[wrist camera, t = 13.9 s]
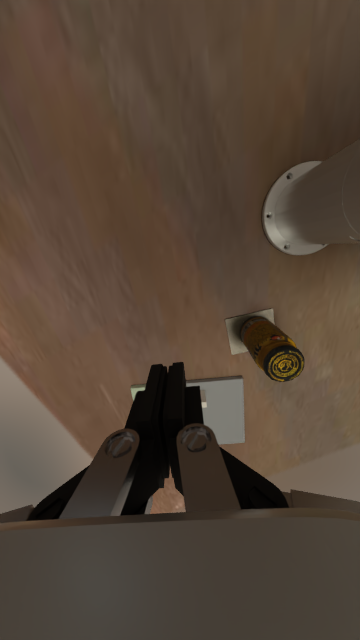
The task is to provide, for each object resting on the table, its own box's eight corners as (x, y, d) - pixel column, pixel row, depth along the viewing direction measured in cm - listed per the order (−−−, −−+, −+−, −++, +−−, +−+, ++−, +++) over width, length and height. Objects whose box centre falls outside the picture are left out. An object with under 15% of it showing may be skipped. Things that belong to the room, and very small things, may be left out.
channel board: (241, 375, 42) (248, 390, 38) (243, 438, 47) (249, 457, 43) (131, 385, 43) (126, 400, 39) (144, 445, 48) (141, 464, 44)
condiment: (276, 344, 40) (313, 383, 29) (231, 354, 41) (249, 395, 29) (272, 308, 38) (310, 333, 26) (224, 318, 39) (241, 348, 27)
